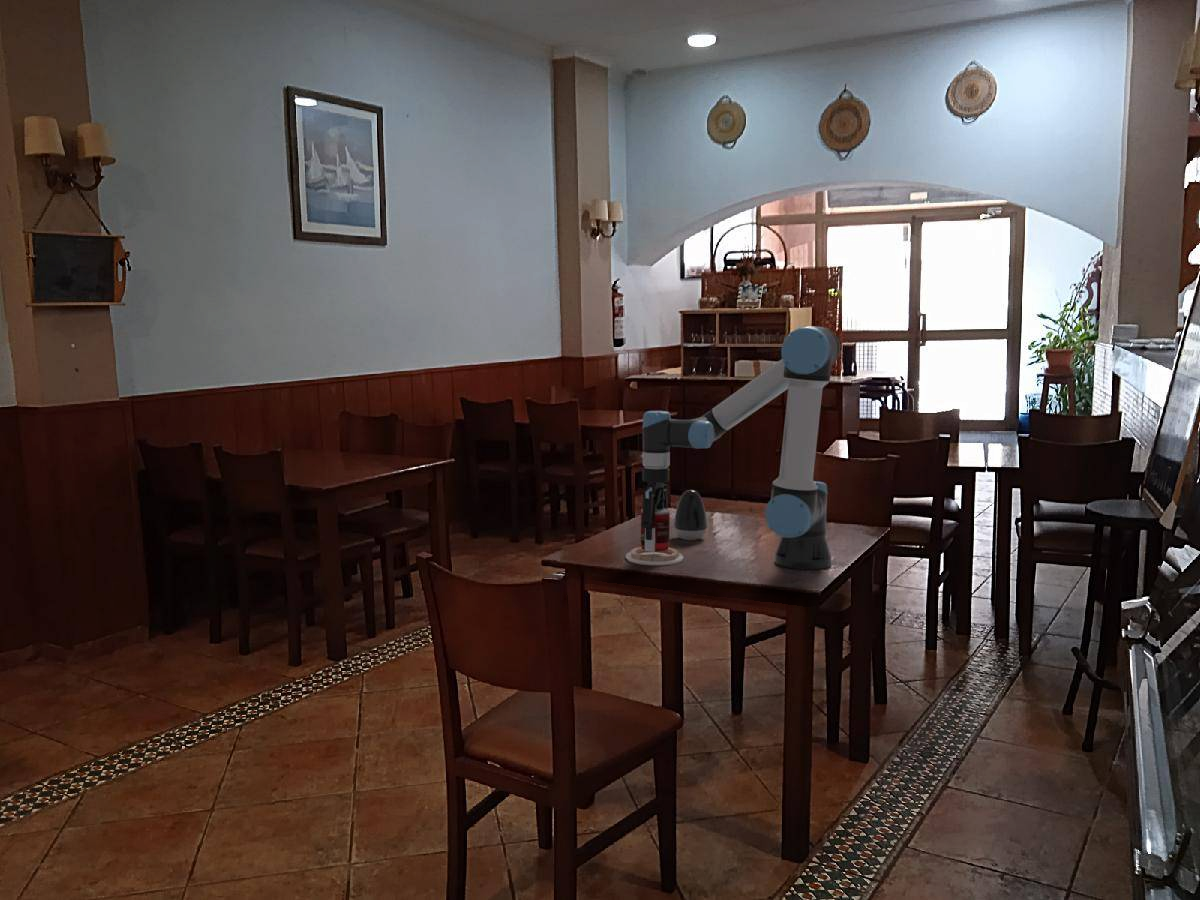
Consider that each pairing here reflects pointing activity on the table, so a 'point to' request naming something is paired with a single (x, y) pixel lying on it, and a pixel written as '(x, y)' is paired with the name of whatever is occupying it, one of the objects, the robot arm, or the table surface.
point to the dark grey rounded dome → (690, 516)
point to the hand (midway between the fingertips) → (654, 547)
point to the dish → (654, 557)
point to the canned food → (659, 530)
